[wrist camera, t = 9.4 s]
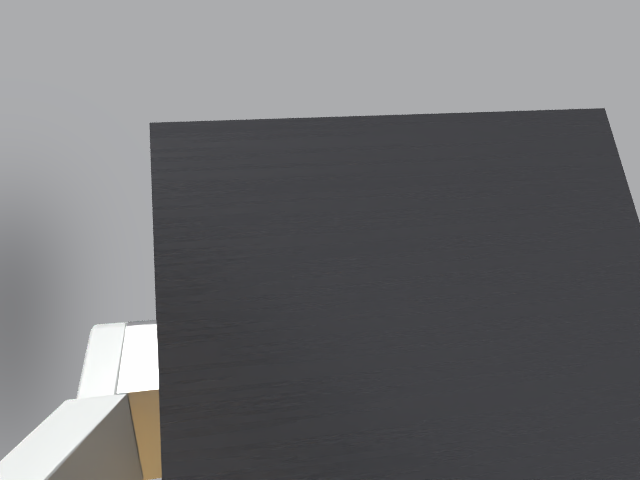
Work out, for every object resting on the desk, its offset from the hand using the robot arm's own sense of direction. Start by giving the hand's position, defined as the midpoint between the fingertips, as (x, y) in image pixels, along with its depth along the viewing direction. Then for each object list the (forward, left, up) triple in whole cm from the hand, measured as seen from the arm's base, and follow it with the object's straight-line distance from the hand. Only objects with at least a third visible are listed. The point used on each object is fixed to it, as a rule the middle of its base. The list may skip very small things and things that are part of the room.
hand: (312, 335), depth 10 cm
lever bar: (-3, +4, -5) cm, 7 cm away
